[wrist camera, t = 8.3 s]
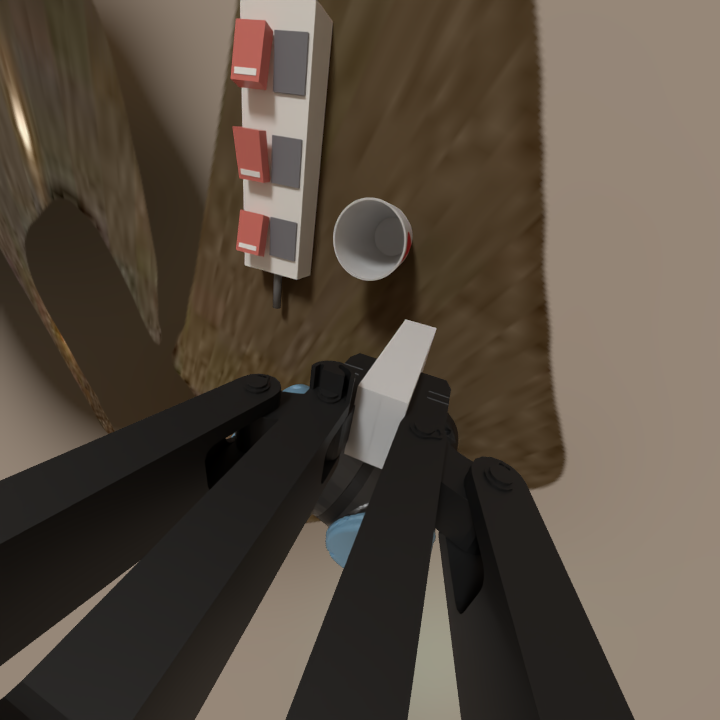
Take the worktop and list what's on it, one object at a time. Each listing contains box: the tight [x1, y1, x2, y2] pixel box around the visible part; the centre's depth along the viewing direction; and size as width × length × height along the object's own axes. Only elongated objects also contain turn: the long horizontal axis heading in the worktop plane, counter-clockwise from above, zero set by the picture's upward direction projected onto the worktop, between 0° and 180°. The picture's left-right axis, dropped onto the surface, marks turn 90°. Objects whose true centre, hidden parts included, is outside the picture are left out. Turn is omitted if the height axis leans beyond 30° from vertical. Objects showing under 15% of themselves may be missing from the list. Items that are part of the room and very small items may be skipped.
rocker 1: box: [231, 19, 273, 90], centre depth 32 cm, size 5×4×2 cm
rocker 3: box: [236, 210, 270, 257], centre depth 40 cm, size 5×4×2 cm
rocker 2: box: [233, 126, 270, 183], centre depth 36 cm, size 5×4×2 cm
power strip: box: [240, 0, 333, 309], centre depth 40 cm, size 34×9×4 cm, turn 169°
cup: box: [333, 198, 413, 281], centre depth 35 cm, size 8×8×10 cm
